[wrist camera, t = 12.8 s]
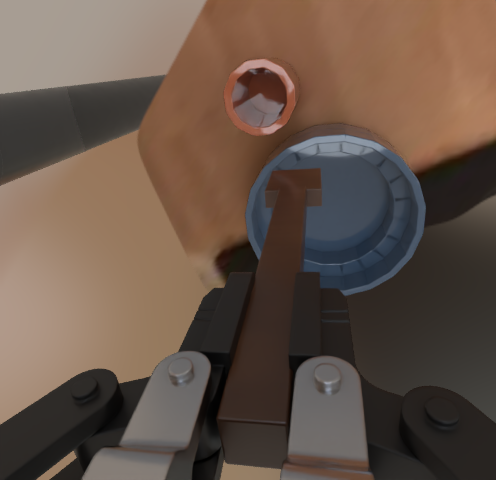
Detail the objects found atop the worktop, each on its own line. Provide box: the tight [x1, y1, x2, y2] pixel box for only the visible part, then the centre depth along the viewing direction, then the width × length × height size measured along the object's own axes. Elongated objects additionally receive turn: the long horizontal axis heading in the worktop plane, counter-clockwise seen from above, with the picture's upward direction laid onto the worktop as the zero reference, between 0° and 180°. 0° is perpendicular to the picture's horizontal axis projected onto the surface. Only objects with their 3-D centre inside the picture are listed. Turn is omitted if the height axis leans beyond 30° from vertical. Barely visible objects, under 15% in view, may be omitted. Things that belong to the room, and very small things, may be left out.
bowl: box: [245, 123, 426, 296], centre depth 35 cm, size 15×15×6 cm
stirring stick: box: [216, 168, 322, 469], centre depth 15 cm, size 3×1×18 cm, turn 96°
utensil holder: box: [224, 58, 300, 136], centre depth 30 cm, size 5×5×8 cm
